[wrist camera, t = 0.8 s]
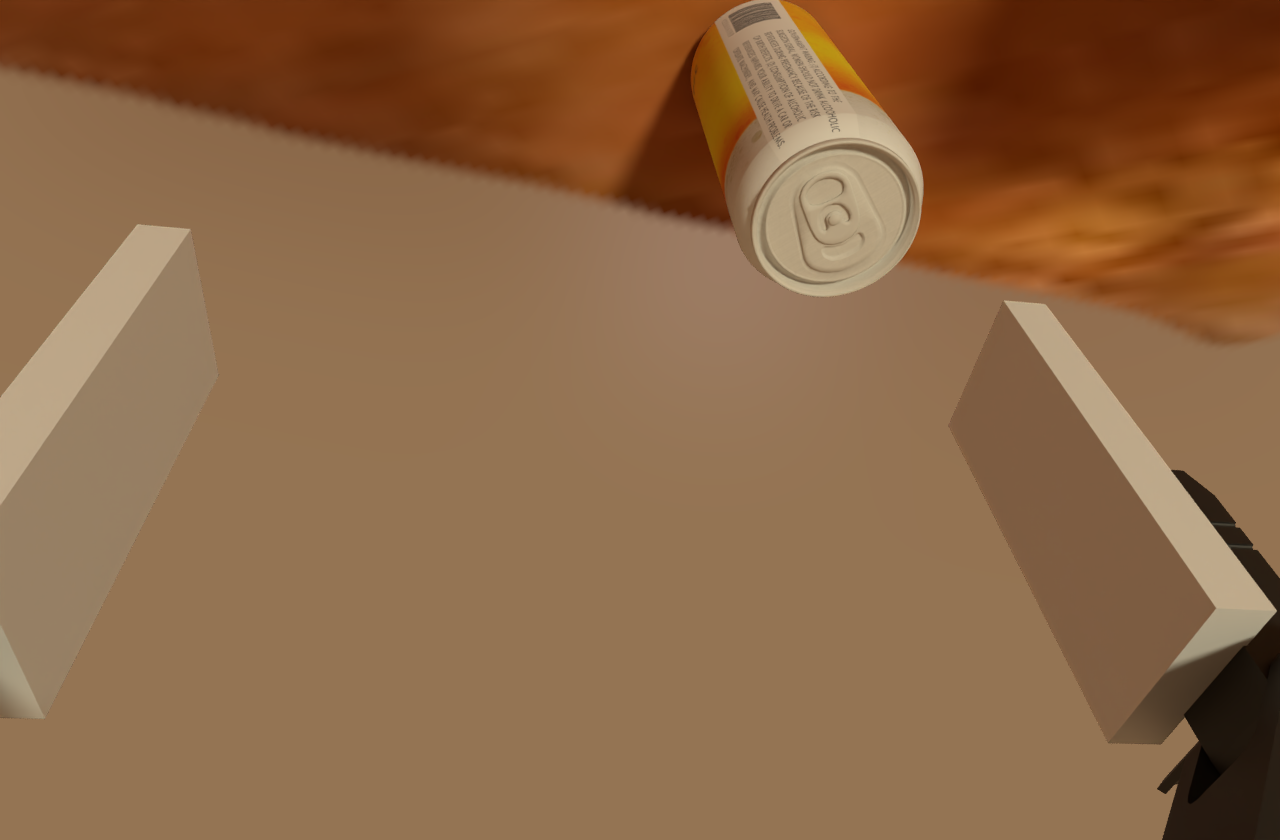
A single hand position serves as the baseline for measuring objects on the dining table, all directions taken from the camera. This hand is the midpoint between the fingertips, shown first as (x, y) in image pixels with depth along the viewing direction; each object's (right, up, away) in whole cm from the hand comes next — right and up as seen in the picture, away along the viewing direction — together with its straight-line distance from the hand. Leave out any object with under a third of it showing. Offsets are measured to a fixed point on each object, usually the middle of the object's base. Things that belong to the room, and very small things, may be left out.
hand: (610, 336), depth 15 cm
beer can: (+6, +14, +25) cm, 29 cm away
